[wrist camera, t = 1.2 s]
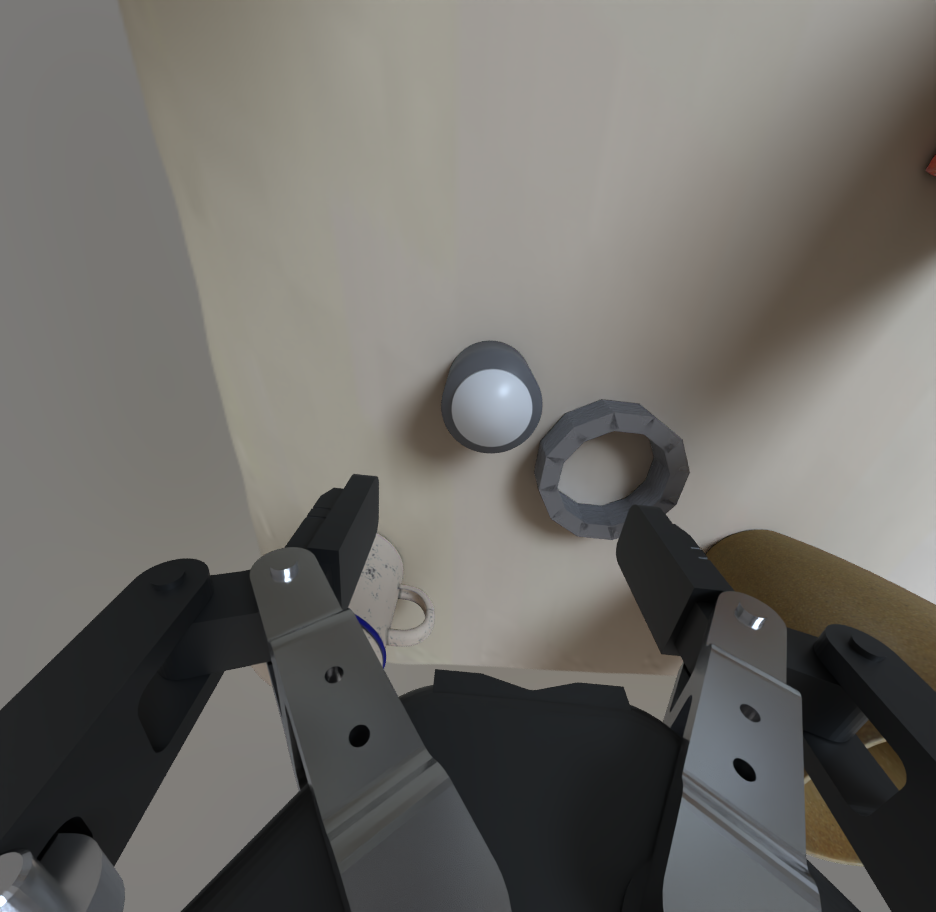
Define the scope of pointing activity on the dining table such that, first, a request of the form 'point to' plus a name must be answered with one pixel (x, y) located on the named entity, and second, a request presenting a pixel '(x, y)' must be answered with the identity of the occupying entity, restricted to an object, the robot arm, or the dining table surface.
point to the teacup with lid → (382, 603)
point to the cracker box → (932, 167)
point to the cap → (491, 398)
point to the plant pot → (810, 611)
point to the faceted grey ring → (589, 424)
